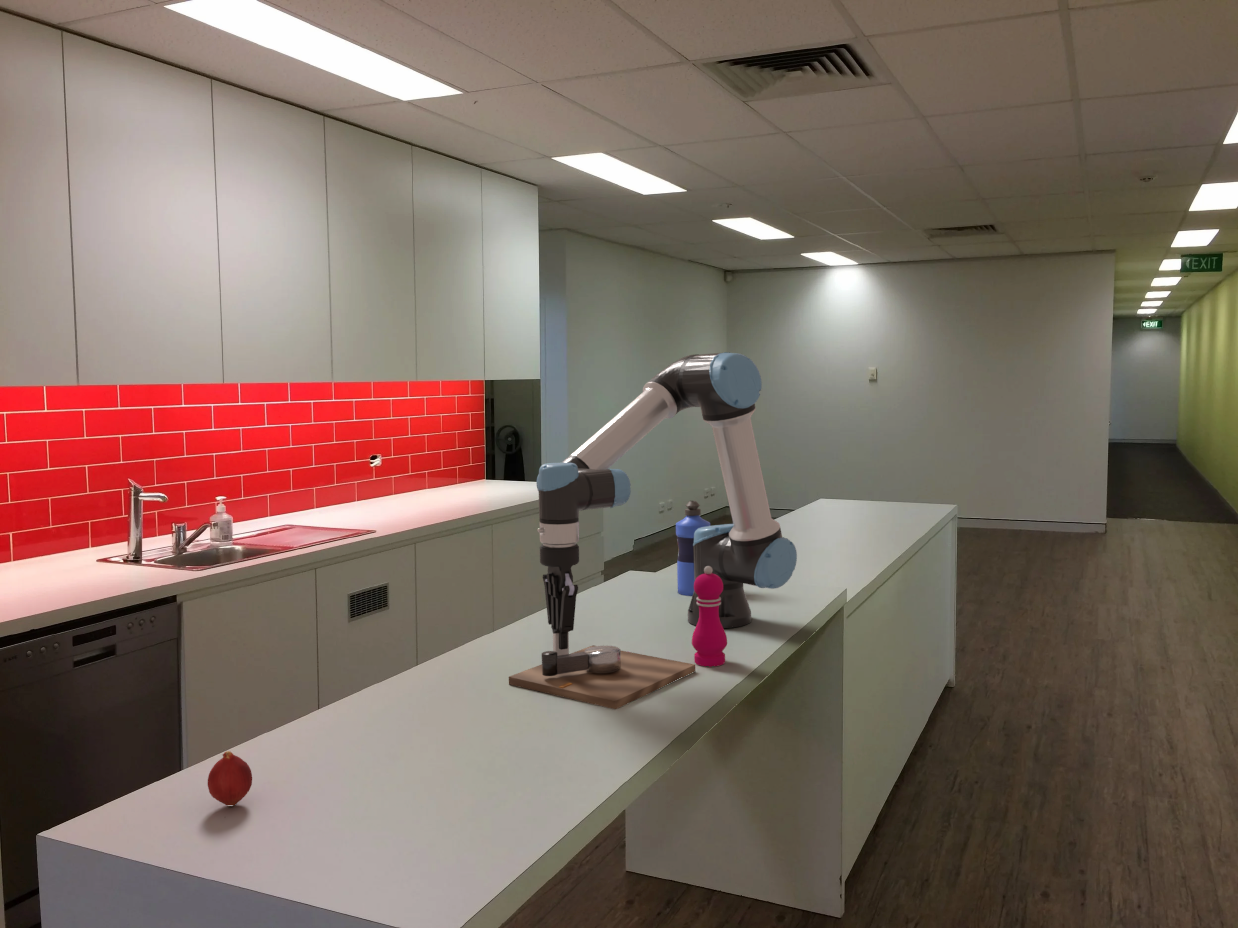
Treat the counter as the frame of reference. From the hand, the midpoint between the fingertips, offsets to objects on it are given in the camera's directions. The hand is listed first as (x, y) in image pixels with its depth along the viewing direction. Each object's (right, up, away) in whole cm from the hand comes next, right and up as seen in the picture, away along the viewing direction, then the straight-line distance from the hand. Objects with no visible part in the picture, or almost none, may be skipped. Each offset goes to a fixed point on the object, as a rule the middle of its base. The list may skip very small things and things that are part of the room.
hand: (561, 663), depth 187 cm
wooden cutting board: (+8, -3, +2) cm, 9 cm away
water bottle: (+32, +4, +76) cm, 82 cm away
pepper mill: (+30, -2, +11) cm, 32 cm away
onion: (-43, -9, -52) cm, 68 cm away
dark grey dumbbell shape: (+4, -1, 0) cm, 4 cm away
